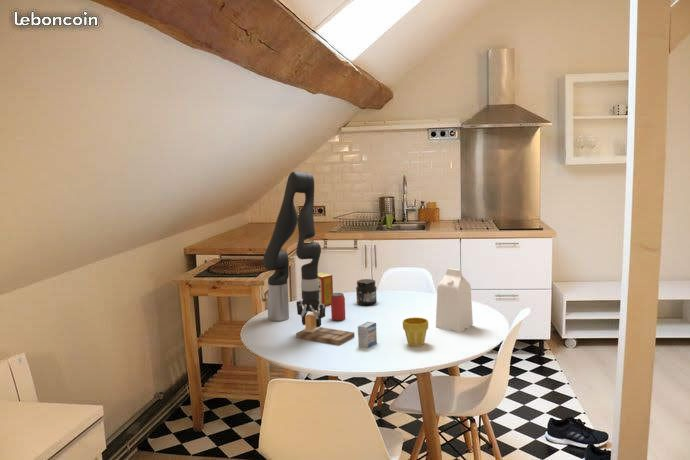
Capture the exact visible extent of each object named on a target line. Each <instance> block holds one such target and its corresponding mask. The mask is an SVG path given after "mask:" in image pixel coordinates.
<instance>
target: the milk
mask: <svg viewBox="0 0 690 460" xmlns="http://www.w3.org/2000/svg"><path fill="white" fill-rule="evenodd" d="M471 289H472V287H471V284H470V282H469V281H468V280H467V279H466V278H465V277H464V276H463V273H462V269H456V268H452V267H451V268H450V267H449V268H447V269H446V272H445V274H444V276H443V277H442V279H441V280H440V282H439V284H437V291H436V293H437V294H436V309H435V310H436V311H435V312H436V314H435V315H436V316H435V328H437V327H440V328H439V329H442V328H445V329H444V330H446V329H449V330H448V331H451V330H454V331H453V332H456V331H460V332H462V331H461V330H463V329H465V328H467V327H469V328H471V327H470V326H472V325H473V326H474V322H473V321H474V320H473V305H472V304H473V303H472V290H471ZM473 326H472V327H473ZM467 329H468V328H467ZM465 330H466V329H465ZM463 331H464V330H463Z"/></svg>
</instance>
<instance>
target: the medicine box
mask: <svg viewBox="0 0 690 460" xmlns="http://www.w3.org/2000/svg"><path fill="white" fill-rule="evenodd" d="M377 334H378V333H377V322H373V321H366V322H364V323H362V324H360V325H358V326H357V340H358V341H357V342H358V343H357V345H358V347H359V348H365V349H368V348H370V347H372V346H374V345H375V344H376V343H377V341H378V340H377V339H378V338H377V337H378V336H377Z"/></svg>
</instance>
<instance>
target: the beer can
mask: <svg viewBox="0 0 690 460" xmlns="http://www.w3.org/2000/svg"><path fill="white" fill-rule="evenodd" d="M330 308H331V309H330V311H331V319H332V321H333V320H334V321H338V322H339V321H344V320H346V298H345V295H344V293H342V292H335V293H334V292H333V294H332V297H331V306H330Z"/></svg>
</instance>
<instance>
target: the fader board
mask: <svg viewBox="0 0 690 460" xmlns="http://www.w3.org/2000/svg"><path fill="white" fill-rule="evenodd" d="M295 334H296V335H295V337H296V339H301V340H306V341H307V340H308V341H313V342H318V343H324V344H329V345H330V344H331V345H336V346H341V345H343V344H344V343H346V342H348V341H350V340H351V339H353V338H355V332H353V331H347V330H341V329H333V328H328V327H323V326H320V330H318V331H315V332H313V333H310V332H304V331H303V329H302V330H300V331H298V332H296V333H295Z"/></svg>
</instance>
